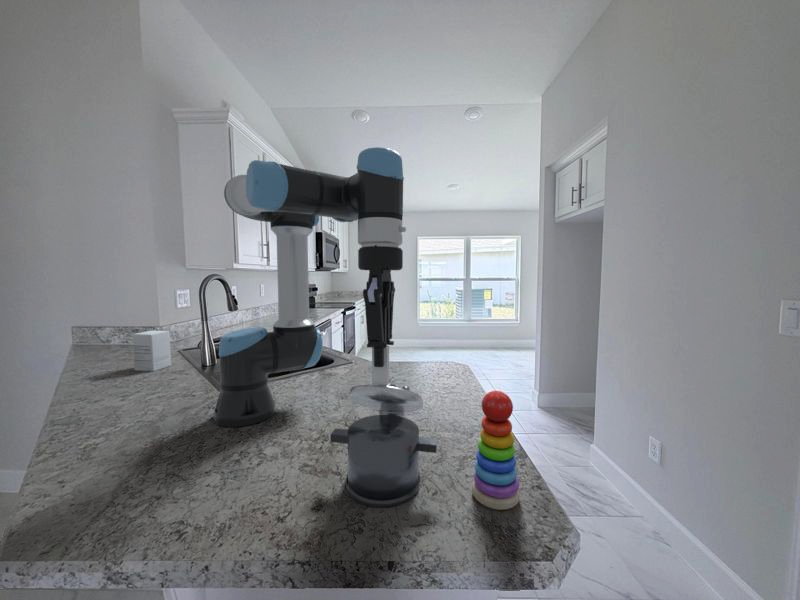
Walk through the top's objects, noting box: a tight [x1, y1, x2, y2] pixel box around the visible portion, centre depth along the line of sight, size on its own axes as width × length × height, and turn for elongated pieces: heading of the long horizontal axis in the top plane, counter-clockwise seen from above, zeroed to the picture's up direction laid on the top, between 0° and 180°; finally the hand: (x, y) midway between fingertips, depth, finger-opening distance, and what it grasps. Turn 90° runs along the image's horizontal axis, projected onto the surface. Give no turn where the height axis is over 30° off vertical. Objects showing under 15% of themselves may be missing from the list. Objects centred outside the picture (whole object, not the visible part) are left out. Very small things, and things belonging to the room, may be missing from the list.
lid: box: [347, 383, 424, 418], centre depth 62 cm, size 14×15×4 cm
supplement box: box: [131, 329, 172, 372], centre depth 134 cm, size 9×9×15 cm
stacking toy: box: [471, 390, 521, 511], centre depth 56 cm, size 8×8×19 cm
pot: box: [330, 414, 438, 509], centre depth 60 cm, size 20×14×10 cm
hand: (380, 383), depth 57 cm, fingers closed
